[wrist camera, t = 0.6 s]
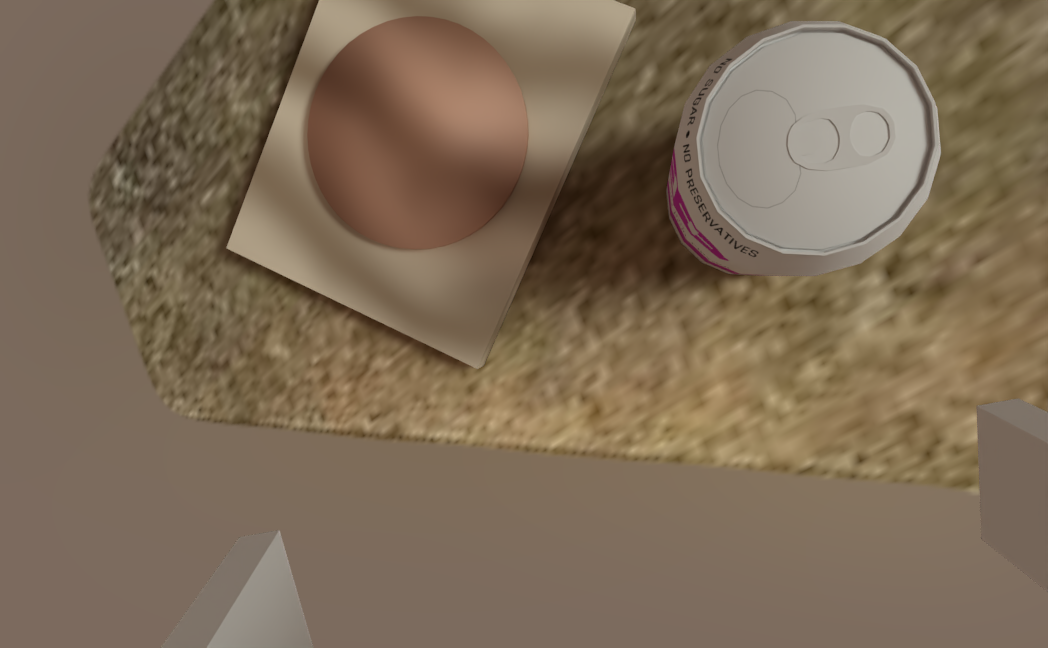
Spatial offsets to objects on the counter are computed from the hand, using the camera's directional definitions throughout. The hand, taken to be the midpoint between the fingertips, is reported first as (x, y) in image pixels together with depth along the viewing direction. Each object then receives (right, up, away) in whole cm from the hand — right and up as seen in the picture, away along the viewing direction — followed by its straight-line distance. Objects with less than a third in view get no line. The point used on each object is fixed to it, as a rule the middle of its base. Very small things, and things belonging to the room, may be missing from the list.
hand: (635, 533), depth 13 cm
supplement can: (+9, +11, +23) cm, 27 cm away
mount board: (-7, +14, +26) cm, 30 cm away
